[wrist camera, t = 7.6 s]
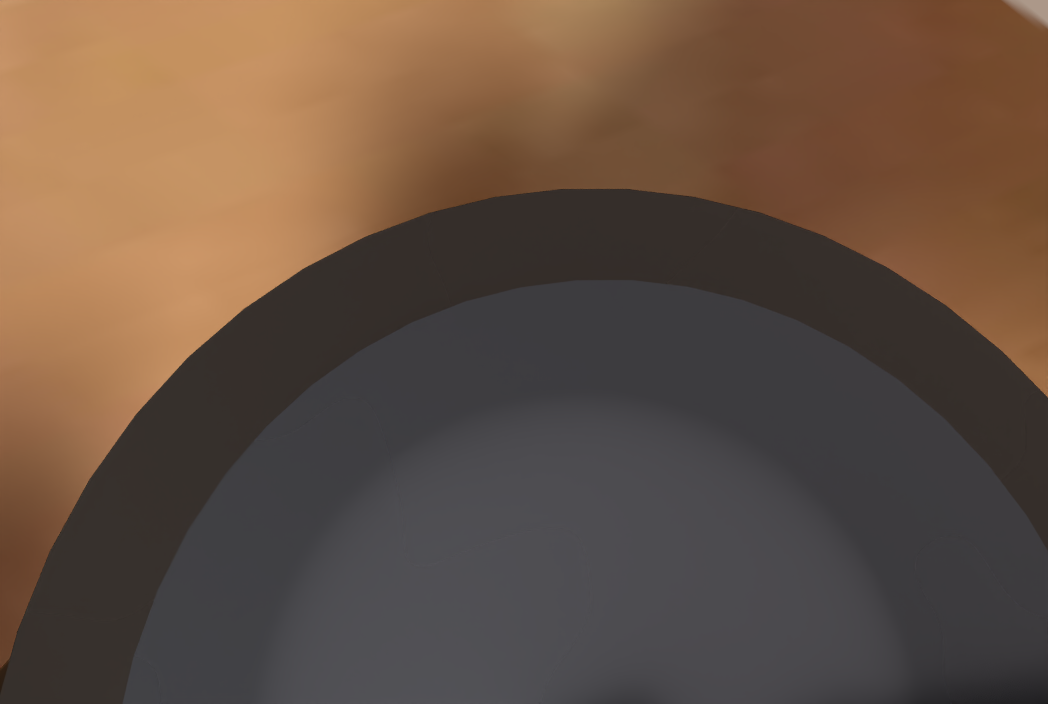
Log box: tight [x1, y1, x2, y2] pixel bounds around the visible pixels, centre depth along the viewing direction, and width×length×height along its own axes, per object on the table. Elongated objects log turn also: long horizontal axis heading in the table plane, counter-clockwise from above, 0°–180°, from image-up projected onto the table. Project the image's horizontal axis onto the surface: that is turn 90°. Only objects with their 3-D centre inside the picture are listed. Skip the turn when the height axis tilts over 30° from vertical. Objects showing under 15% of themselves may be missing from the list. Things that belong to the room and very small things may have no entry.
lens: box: [0, 189, 1048, 704], centre depth 9 cm, size 6×6×12 cm
